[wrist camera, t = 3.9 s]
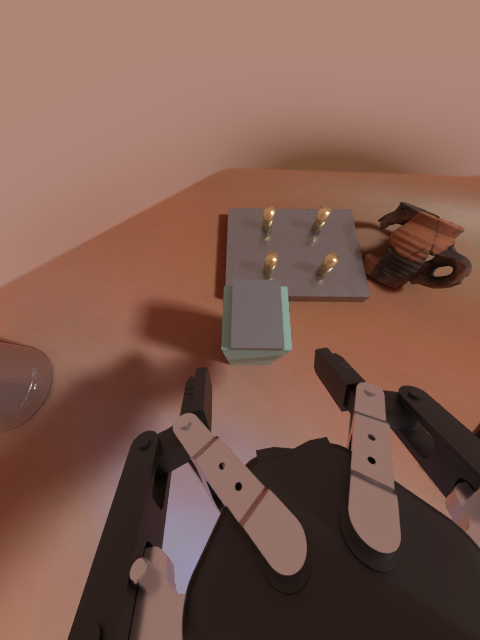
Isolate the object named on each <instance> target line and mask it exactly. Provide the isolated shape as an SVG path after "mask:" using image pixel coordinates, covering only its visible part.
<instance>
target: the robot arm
mask: <svg viewBox="0 0 480 640" xmlns="http://www.w3.org/2000/svg"><path fill="white" fill-rule="evenodd" d="M314 369H315V372H316V374H317V376H318V377H319V379H320V380H321V382H322V383H323V384H324V386H325V387H326V389H327V390H328V392H329V393H330V395H331V396H332V398H333V399H334V401H335V402H336V404H337V405H338V407H339V408H340V410H341V411H342V412H343V411H349V412H350V421H349V430H348V440H347V447H346V448H345V447H343V446H340V445H337V444H333V443H330V442H329V440H328V439H327V437H325V438H319V439H314V440H309V441H307V442H305V443H304V444H302V445H300V446H298V447H296V448H293V449H290V448H279V447H271V448H266V449H261V450H256V454H257V457H255V458H253V459H252V460H250V461H249V462H248V463H247V464H246V465H244V464H243V463H242V462H241V460H240V459H239V458H238V457H237V456H236V455H235V454H234V453H233V452H232V451H231V449H230V448H229V447H228V446H227V445H226V444H225V443H224V442H223V441H222V440H221V439H220V438H219V437H218V436H216V437H215V436H214V435H213V434H212V433H211V421H212V384H211V380H210V376H209V372H208V368H207V367H204V368H198V369H196V376H195V377H190V378H189V380H188V381H187V382H186V386H185V391H184V397H183V402H182V407H181V413H180V417H179V418H177V420H176V421H175V423H174V425H173V426H172V427H170V428H169V429H167V430H165V431H163V432H160V433H158V434H157V433H156V432H154V431H146V432H144V433H142V434H140V435H139V436H138V437H137V438H136V439H135V440H134V441H133V443H132V444H131V447H130V450H129V453H128V456H127V459H126V462H125V465H124V468H123V471H122V475H121V478H120V481H119V484H118V487H117V490H116V493H115V496H114V499H113V502H112V505H111V508H110V511H109V514H108V517H107V520H106V524H105V527H104V530H103V533H102V536H101V539H100V542H99V545H98V548H97V551H96V554H95V557H94V560H93V563H92V566H91V569H90V573H89V576H88V579H87V582H86V585H85V588H84V591H83V594H82V597H81V600H80V603H79V606H78V609H77V612H76V615H75V618H74V622H73V625H72V628H71V631H70V634H69V637H68V640H480V439H479V438H478V437H477V436H476V435H474V434H473V433H472V432H471V431H470V430H469V429H467V428H466V427H465V426H464V425H463V424H462V423H461V422H459V421H458V420H457V419H456V418H455V417H454V416H452V415H451V414H450V413H449V412H448V411H447V410H445V409H444V408H443V407H442V406H441V405H440V404H439V403H437V402H436V401H435V400H434V399H433V398H432V397H430V396H429V395H428V394H427V393H426V392H424V391H423V390H421V389H419V388H416V387H413V386H402V387H400V388H399V391H398V392H393V391H383V390H382V389H381V388H379V387H378V386H376V385H374V384H372V383H368V382H365V380H364V379H363V378H362V377H361V376H360V375H359V374H358V373H357V372H356V371H355V370H354V369H353V368H352V367H351V366H350V365H349V364H348V363H347V362H346V361H345V359H344V358H343V357H341V356H339V355H338V354H336V353H334V354H332V352H331V351H330V350H329V349H328V348H321V349H316V350H315V360H314ZM51 381H52V368H51V365H50V362H49V360H48V358H47V357H46V356H45V355H44V354H43V353H42V352H41V351H39V350H37V349H35V348H31V347H27V346H21V345H15V344H9V343H3V342H0V432H5V431H8V430H11V429H13V428H15V427H17V426H19V425H21V424H22V423H24V422H25V421H27V420H28V419H29V418H30V417H31V416H32V415H33V414H34V413H35V412H36V411H37V410H38V409H39V408H40V406H41V405H42V403H43V402H44V400H45V398H46V397H47V394H48V392H49V389H50V386H51ZM390 429H392V430H393V431H394V433H395V434H396V435H397V436H398V438H399V439H400V440H401V441H402V443H403V444H404V445H405V447H406V448H407V449H408V450H409V452H410V453H411V454H412V455H413V457H414V458H415V459H416V461H417V462H418V463H419V464H420V466H421V467H422V468H423V469H424V471H425V472H426V473H427V474H428V476H429V477H430V478H431V480H432V481H433V482H434V483H435V485H436V486H437V487H438V488H439V490H440V491H441V492H442V494H443V495H444V496H445V497H446V507H447V509H448V511H449V513H450V515H451V516H452V520H451V519H449V518H448V517H447V516H445V515H444V514H442V513H441V512H439V511H438V510H436V509H435V508H434V507H432V506H431V505H429V504H428V503H426V502H425V501H423V500H422V499H420V498H419V497H418V496H416V495H415V494H413V493H412V492H410V491H409V490H407V489H406V488H405V487H403V486H402V485H400V484H399V483H397V482H396V481H394V476H393V463H392V450H391V437H390ZM424 429H425V430H426V431H427V432H428V433H429V434H430V435H431V436H430V435H429V434H428V433H427V432H426V431H425V430H424ZM187 462H188V464H189V465H190V467H191V469H192V470H193V472H194V473H195V475H196V476H197V478H198V479H199V481H200V482H201V484H202V485H203V487H204V489H205V490H206V492H207V494H208V496H209V498H210V499H211V501H212V502H213V504H214V506H215V507H216V509H217V510H218V512H219V513H220V516H219V518H218V520H217V522H216V524H215V527H214V529H213V531H212V533H211V535H210V537H209V539H208V541H207V544H206V546H205V548H204V550H203V552H202V554H201V556H200V559H199V561H198V563H197V565H196V567H195V569H194V571H193V574H192V576H191V578H190V581H189V584H188V587H187V591H186V594H178V593H177V591H176V587H175V582H174V567H173V563H172V561H171V560H170V558H169V557H168V556H167V555H166V554H165V553H164V552H163V550H162V544H163V536H164V528H165V520H166V512H167V504H168V496H169V488H170V480H171V472H172V471H173V470H175V469H176V468H178V467H180V466H182V465H183V464H185V463H187Z"/></svg>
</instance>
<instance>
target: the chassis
mask: <svg viewBox="0 0 480 640" xmlns="http://www.w3.org/2000/svg"><path fill="white" fill-rule="evenodd" d="M233 280H280V281H281V286H282V287H287V288H288V301H333V302H364V301H365V300H367V299H368V298H370V297H371V296H370V292H369V287H368V283H367V278H366V274H365V269H364V264H363V260H362V255H361V251H360V246H359V242H358V237H357V233H356V228H355V223H354V219H353V214H352V210H350V209H330V208H329V207H328V206H322V207H321V208H320V209H275V207H273V206H271V205H268V206H266V207H265V208H264V209H244V208H228V231H227V256H226V282H225V286H233Z"/></svg>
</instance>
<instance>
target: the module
mask: <svg viewBox="0 0 480 640" xmlns="http://www.w3.org/2000/svg"><path fill="white" fill-rule="evenodd" d="M221 349H222V351H223V353H224V355H225V357H226V359H227V361H228V362H229V364H230V365H269V364H271V363H272V362H274V361H275V360H277V359H278V358H280V357H282V356H283V355H285V354H286V353H288V352H290V351H291V350H292V343H291V329H290V316H289V302H288V288H287V287H282V286H281V281H280V280H233V286H224V296H223V320H222V345H221Z"/></svg>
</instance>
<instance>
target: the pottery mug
mask: <svg viewBox="0 0 480 640" xmlns="http://www.w3.org/2000/svg"><path fill="white" fill-rule="evenodd" d="M378 222H381V223H380V227H381V229H385V228H387V227H388V226H389V225H393V224H397V223H398V224H400V225H402V226H401V227H399V228H398V229H396V230H395V231H393V232H392V233H391V235H390V237H389V243H390V245H391V246H389V248H388V249H387V251H386V253H385V254H384V256H383V258H382V259H380V258H377V257H376V256H374V255H373V254H371V253H368V254H366V256H365V257H364V259H363V264H364V269H365V273H366V274H368V275H369V276H371V277H372V278H374V279H375V280H376V281H378V282H380V283H382V284H384V285H386V286H389V287H393V288H396V287H398V286H400V285H402V284H404V283H406V282H408V281H410V282H411V284H421V285H423V286H426V287H430V288H449V287H453V286H455V285H457V284H458V285H459V284H461V283H462V280H463V279H464V278H465V277H467V276H469V275H470V273H471V268H472V265H471V262H470V261H469V260H468V259H467V258H466V257H464V256H463V255H461V254H459V253H457V251H456V249H455V248H454V245H455V238H456V237H457V236H458V235H459V234H461V233H462V232H464V228H462V227H461V226H458V225H456V224H454V223H452V222H448V221H445V220H443V219H441V218H440V217H439V216H437V215H435V214H432V213H430V212H427V211H426V210H423V209H421V208H418V207H416V206H413V205H411V204H409V203H403V202H401V203H400V205H399V206H398V208H397V209H396V210H395V211H393V212H391V213H388V214H387V215H385V216H383V217H382V218H380V219H379V220H378ZM429 254H430V255H433V256H435V257H434V258H433V259H432V260H429V261H426V262H424V261H425V260H426V258H427V257H428V255H429ZM444 266H451V267H453V272H452V273H451V274H450V275H447V276H441V277H435V276H434V275H433V274H434V271H435V270H436V269H437V268H439V267H444Z"/></svg>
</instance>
